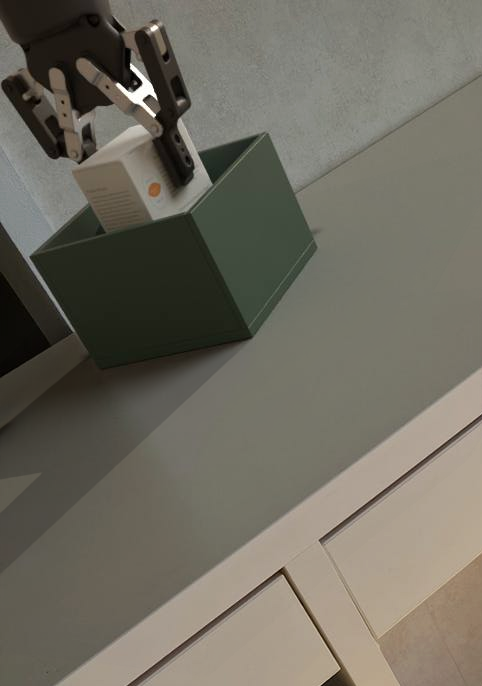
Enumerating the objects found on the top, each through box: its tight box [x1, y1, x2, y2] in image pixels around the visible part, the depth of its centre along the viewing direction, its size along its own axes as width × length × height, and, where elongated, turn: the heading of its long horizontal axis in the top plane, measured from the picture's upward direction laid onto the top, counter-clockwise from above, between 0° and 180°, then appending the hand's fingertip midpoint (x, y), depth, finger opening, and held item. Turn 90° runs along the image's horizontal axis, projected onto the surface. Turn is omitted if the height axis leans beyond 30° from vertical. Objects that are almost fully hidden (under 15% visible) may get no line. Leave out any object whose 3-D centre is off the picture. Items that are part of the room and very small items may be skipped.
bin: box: [28, 131, 319, 370], centre depth 85 cm, size 15×15×10 cm
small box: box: [71, 117, 213, 233], centre depth 83 cm, size 8×6×10 cm
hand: (150, 192), depth 82 cm, fingers closed on small box, 6 cm apart
